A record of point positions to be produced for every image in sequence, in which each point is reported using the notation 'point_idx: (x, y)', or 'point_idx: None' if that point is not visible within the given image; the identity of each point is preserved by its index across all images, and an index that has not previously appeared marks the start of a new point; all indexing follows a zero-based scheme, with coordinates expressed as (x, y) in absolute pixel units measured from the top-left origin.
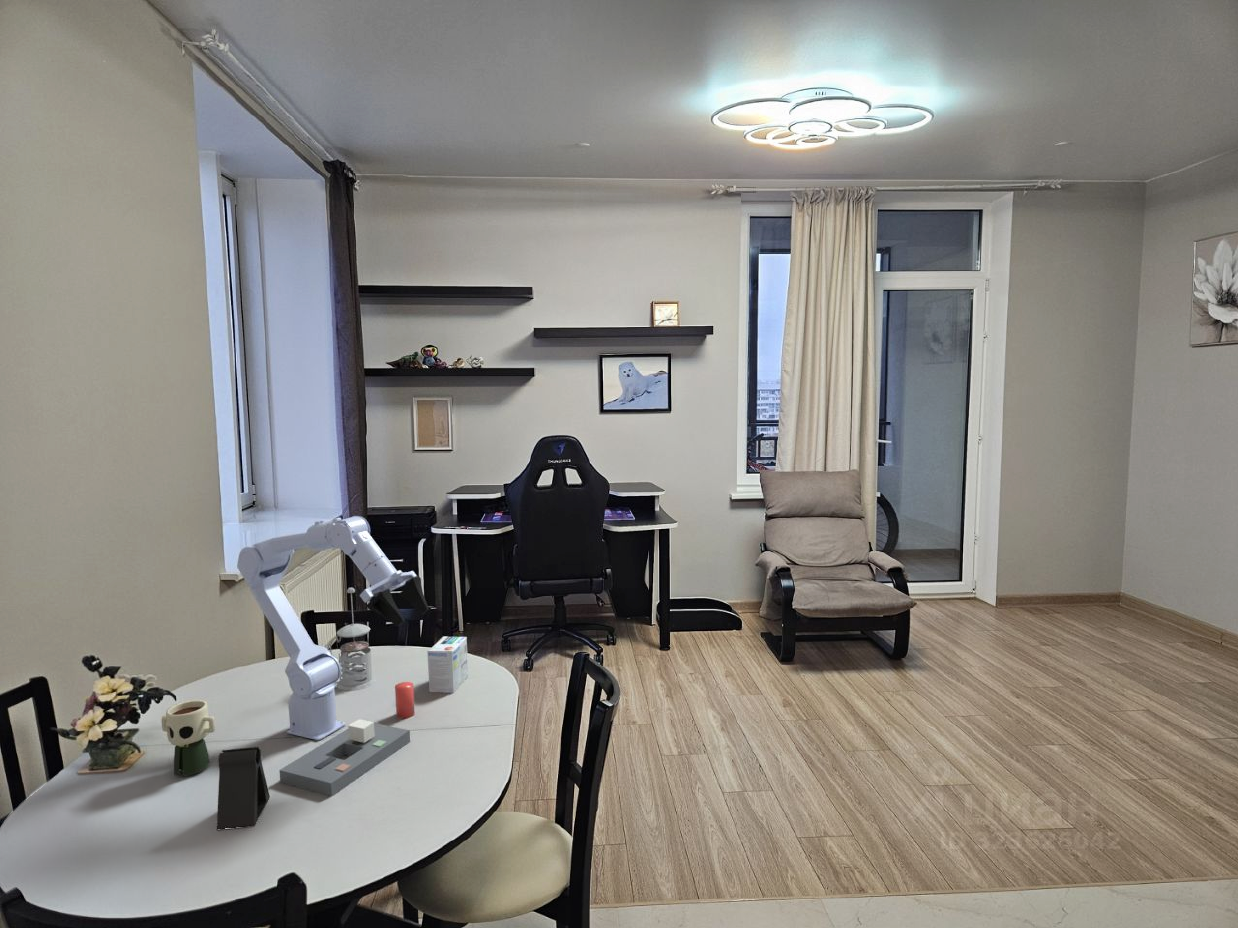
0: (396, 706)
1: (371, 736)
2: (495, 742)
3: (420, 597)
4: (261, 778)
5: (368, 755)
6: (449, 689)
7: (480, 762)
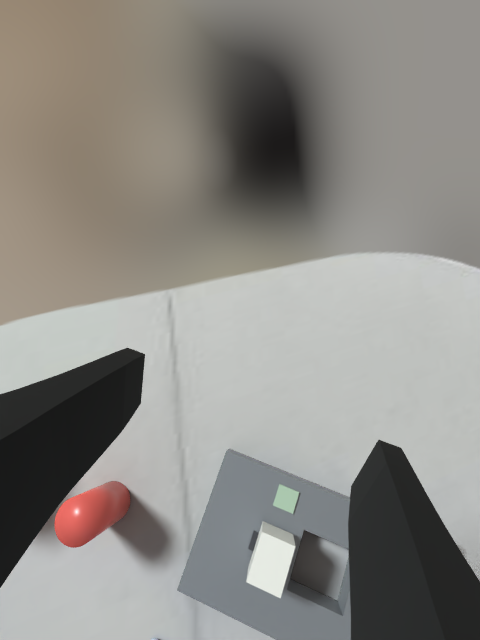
0: (111, 525)
1: (271, 526)
2: (232, 290)
3: (70, 404)
4: None
5: (335, 504)
6: None
7: (298, 298)
